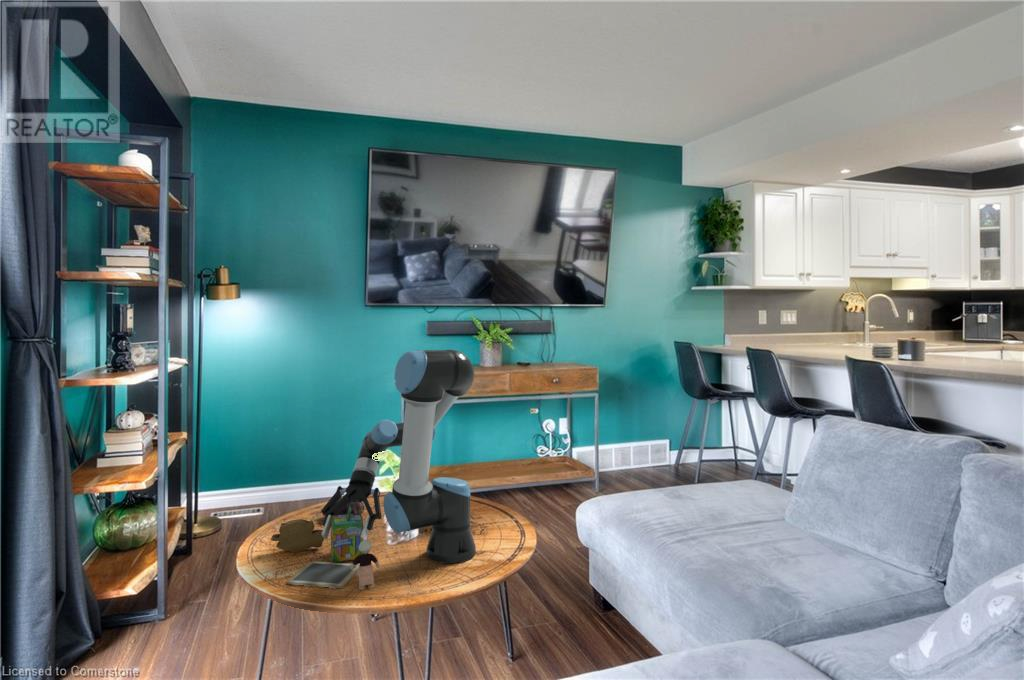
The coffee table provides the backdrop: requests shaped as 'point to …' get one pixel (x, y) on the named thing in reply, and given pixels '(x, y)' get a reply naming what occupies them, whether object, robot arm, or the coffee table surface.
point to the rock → (355, 507)
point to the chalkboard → (324, 574)
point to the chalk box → (346, 536)
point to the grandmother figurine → (365, 565)
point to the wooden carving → (298, 536)
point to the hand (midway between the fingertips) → (343, 538)
